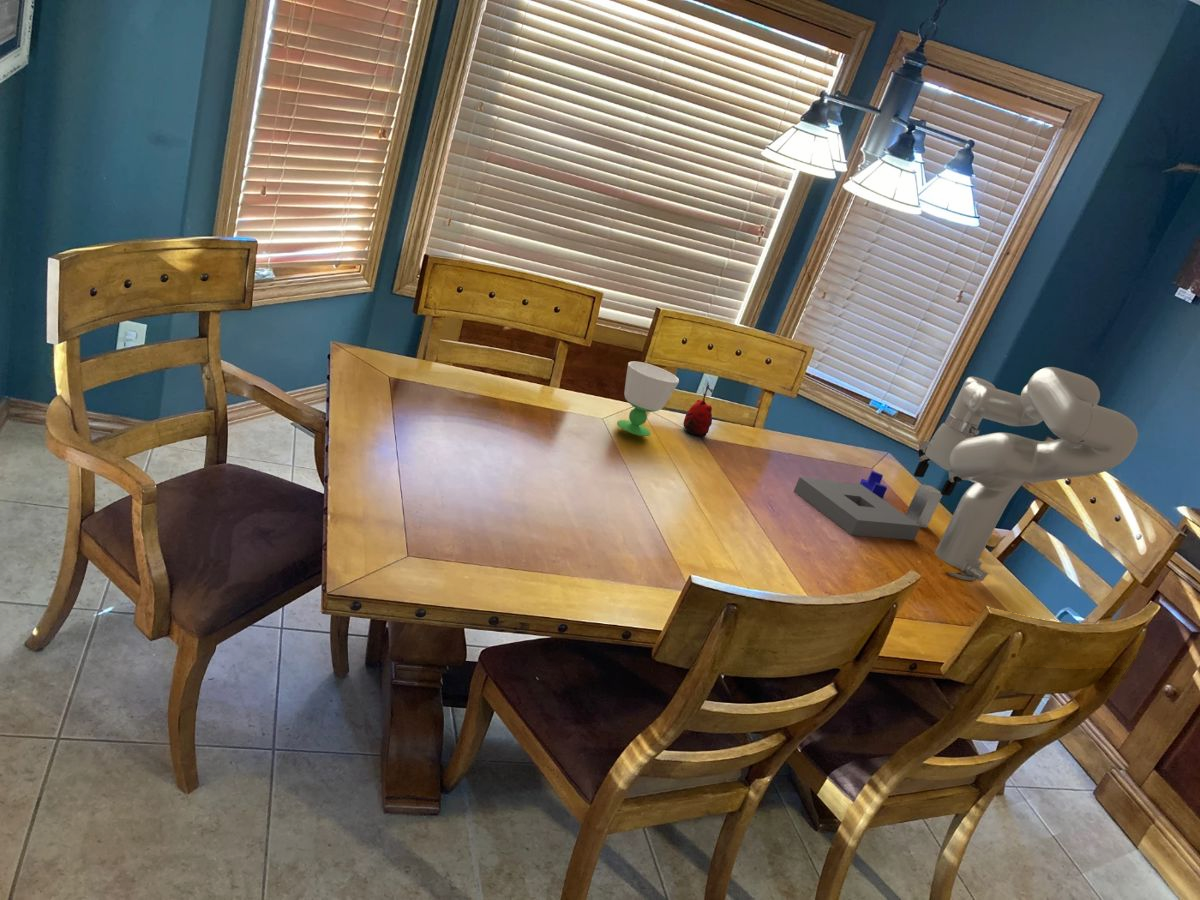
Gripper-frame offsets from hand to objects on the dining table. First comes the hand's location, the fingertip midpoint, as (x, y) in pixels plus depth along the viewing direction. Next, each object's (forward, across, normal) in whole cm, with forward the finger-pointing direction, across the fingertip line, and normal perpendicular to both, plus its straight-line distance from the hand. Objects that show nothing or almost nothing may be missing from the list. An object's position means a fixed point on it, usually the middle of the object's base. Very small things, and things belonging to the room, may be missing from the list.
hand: (931, 485), depth 242 cm
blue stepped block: (+11, +12, +5) cm, 18 cm away
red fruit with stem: (+12, +44, +43) cm, 63 cm away
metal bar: (+11, -1, 0) cm, 11 cm away
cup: (+11, +40, +65) cm, 78 cm away
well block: (+10, 0, +22) cm, 25 cm away
